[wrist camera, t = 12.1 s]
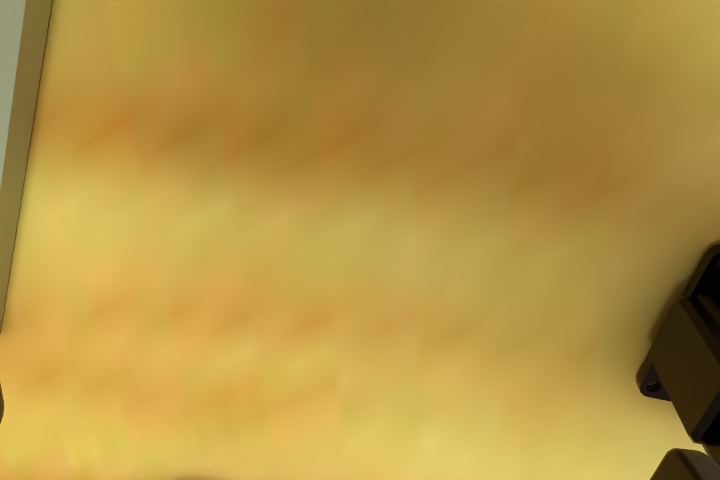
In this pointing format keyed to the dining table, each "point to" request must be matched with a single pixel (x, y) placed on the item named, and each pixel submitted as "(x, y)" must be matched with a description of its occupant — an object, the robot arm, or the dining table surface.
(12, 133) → the cold frame
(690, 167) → the dining table surface
